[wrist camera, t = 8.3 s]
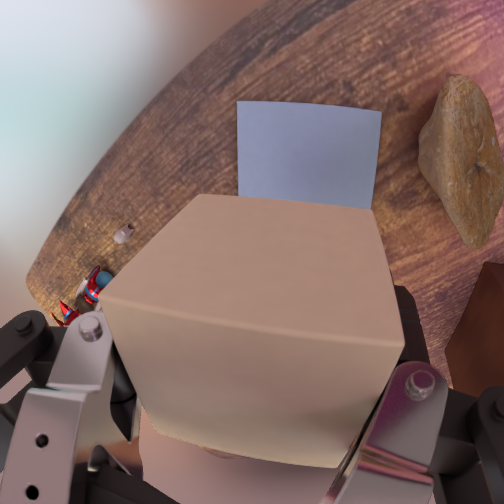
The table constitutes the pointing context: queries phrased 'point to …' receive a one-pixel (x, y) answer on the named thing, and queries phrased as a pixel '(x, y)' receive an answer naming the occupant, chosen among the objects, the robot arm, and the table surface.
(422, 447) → the robot arm
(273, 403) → the cream block
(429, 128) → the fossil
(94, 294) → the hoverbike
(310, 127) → the blue mat
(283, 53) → the table surface
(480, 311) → the walnut stand
